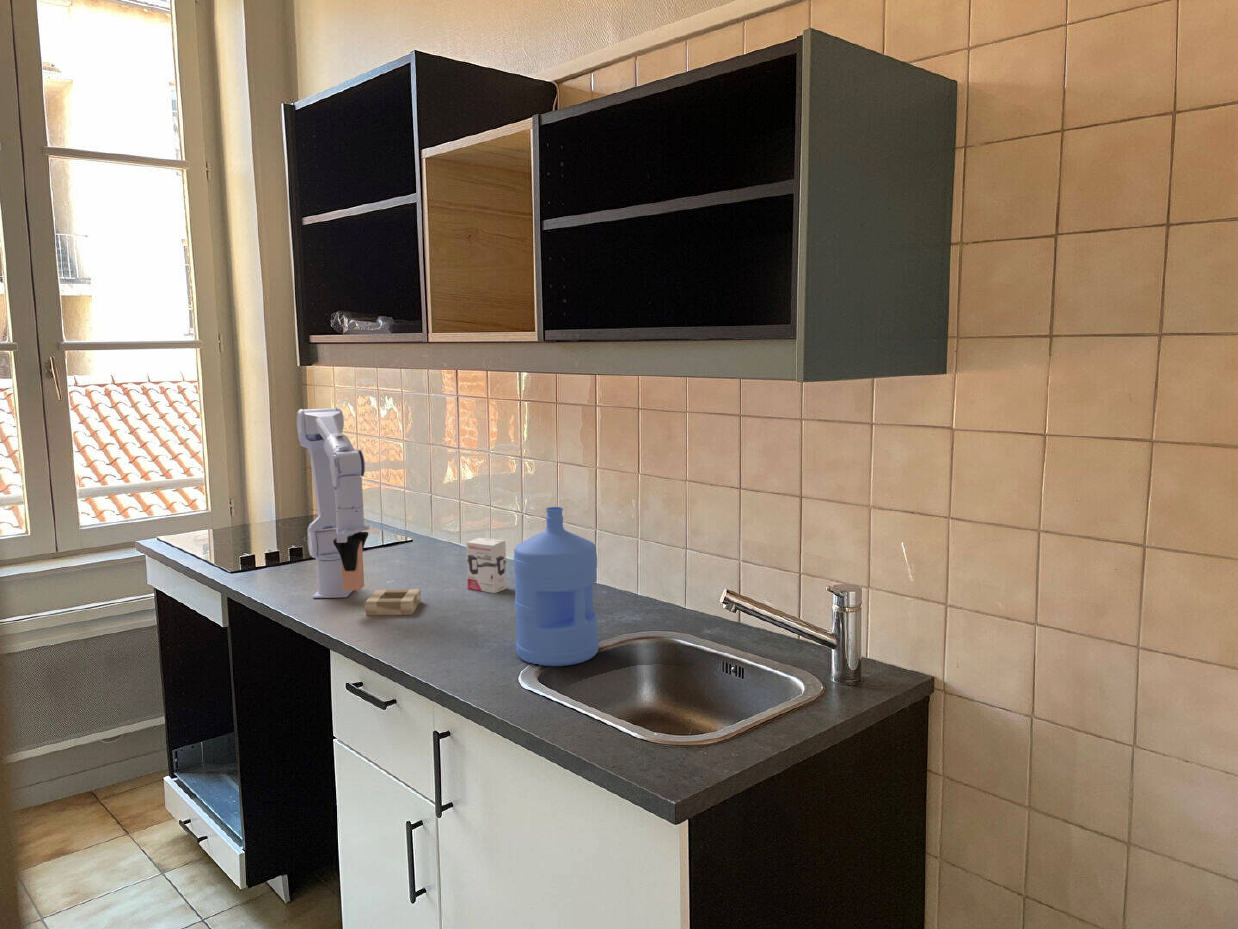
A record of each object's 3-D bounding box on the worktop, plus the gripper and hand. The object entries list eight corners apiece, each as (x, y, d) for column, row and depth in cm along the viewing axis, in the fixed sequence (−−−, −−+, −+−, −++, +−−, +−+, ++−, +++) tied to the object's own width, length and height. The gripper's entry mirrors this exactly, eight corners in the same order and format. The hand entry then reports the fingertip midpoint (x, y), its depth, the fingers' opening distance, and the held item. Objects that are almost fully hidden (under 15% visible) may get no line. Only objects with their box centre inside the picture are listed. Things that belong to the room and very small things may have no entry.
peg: (347, 586, 204) (345, 541, 202) (364, 585, 204) (361, 541, 202) (343, 590, 200) (340, 545, 199) (359, 590, 200) (357, 544, 199)
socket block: (376, 602, 212) (376, 589, 211) (420, 601, 212) (420, 588, 212) (365, 615, 202) (365, 602, 202) (412, 614, 202) (411, 601, 202)
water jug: (499, 654, 176) (494, 509, 172) (561, 635, 187) (558, 498, 183) (552, 674, 165) (549, 520, 161) (615, 653, 176) (613, 507, 172)
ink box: (466, 589, 222) (465, 541, 221) (479, 584, 226) (478, 537, 225) (495, 593, 218) (493, 544, 216) (508, 588, 222) (506, 540, 221)
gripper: (359, 512, 192) (362, 576, 194) (376, 500, 207) (379, 559, 209) (325, 513, 192) (328, 576, 194) (344, 500, 207) (348, 560, 208)
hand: (352, 568), depth 201 cm, fingers closed on peg, 4 cm apart
